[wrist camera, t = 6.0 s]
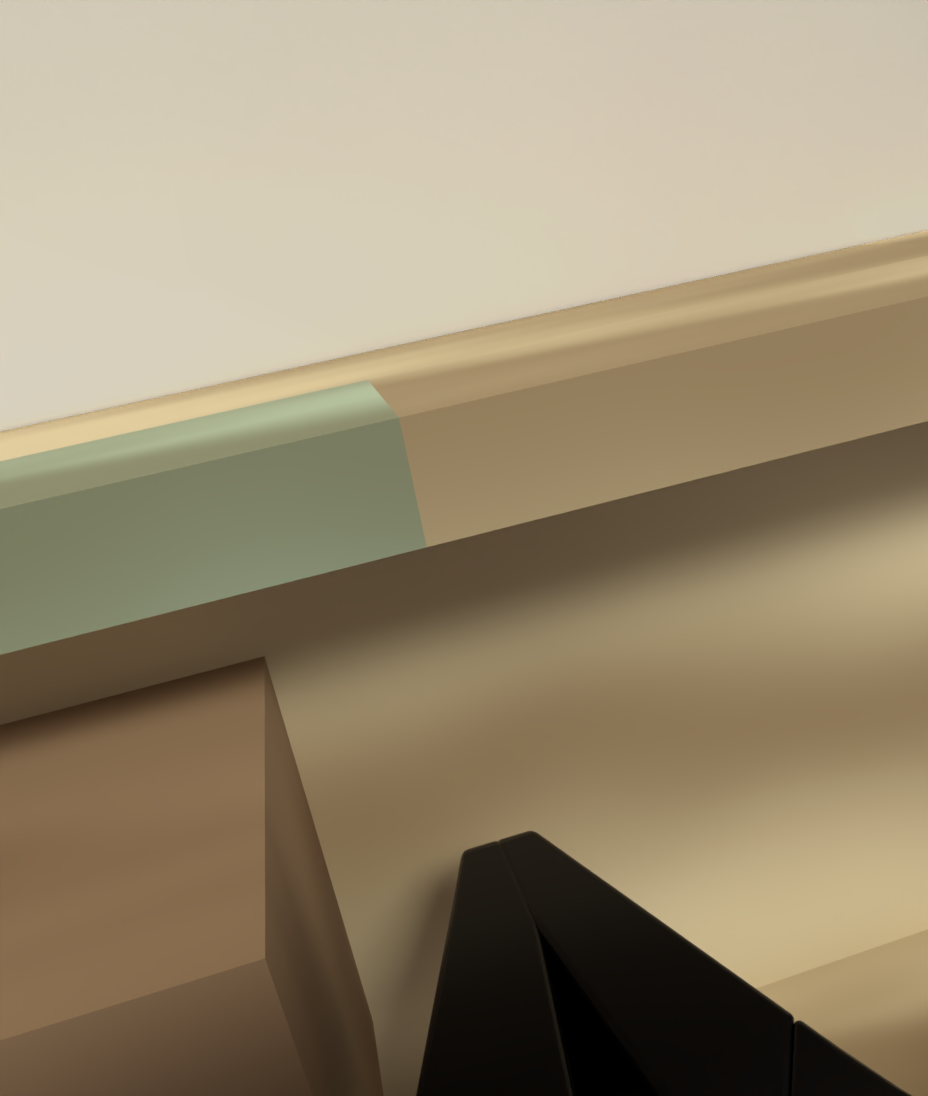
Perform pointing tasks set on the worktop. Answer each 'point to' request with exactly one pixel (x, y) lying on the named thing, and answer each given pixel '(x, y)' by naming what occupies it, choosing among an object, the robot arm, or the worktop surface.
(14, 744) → the walnut block
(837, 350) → the box
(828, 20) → the worktop surface
